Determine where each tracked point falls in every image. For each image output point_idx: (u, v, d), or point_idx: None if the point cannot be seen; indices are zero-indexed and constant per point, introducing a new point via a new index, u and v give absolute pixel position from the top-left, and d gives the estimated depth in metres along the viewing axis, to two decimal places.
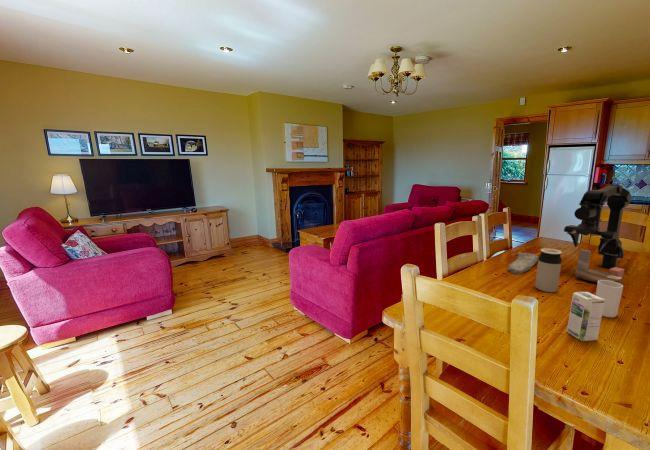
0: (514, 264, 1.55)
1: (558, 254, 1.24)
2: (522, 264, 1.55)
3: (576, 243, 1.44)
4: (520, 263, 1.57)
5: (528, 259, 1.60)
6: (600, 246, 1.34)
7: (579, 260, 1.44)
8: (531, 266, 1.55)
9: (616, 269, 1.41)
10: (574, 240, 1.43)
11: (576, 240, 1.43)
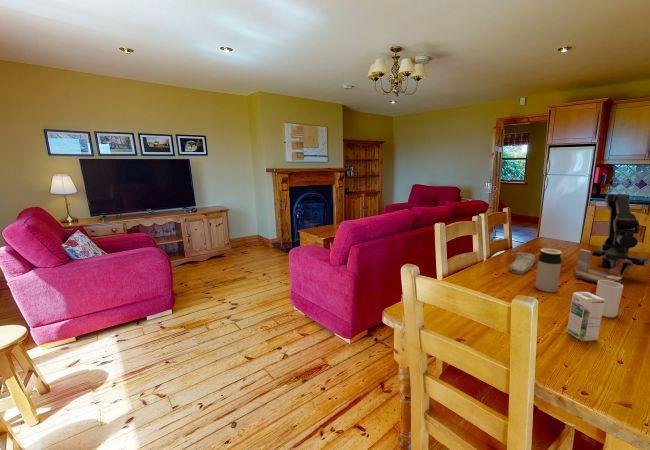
0: (515, 264, 1.55)
1: (558, 254, 1.24)
2: (522, 264, 1.55)
3: None
4: (520, 263, 1.57)
5: (527, 259, 1.61)
6: (622, 270, 1.38)
7: (579, 260, 1.44)
8: (531, 266, 1.55)
9: (616, 269, 1.41)
10: (609, 266, 1.42)
11: (611, 266, 1.42)
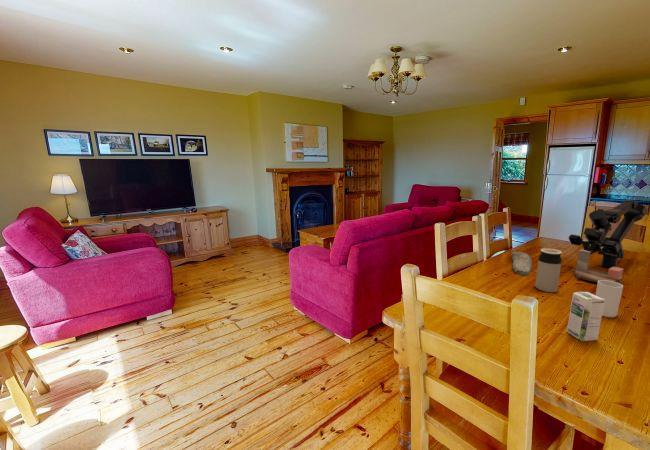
0: (517, 265, 1.54)
1: (558, 254, 1.24)
2: (524, 264, 1.55)
3: None
4: (521, 263, 1.57)
5: (525, 258, 1.61)
6: None
7: (579, 260, 1.43)
8: (531, 265, 1.56)
9: (615, 269, 1.34)
10: (585, 249, 1.43)
11: None
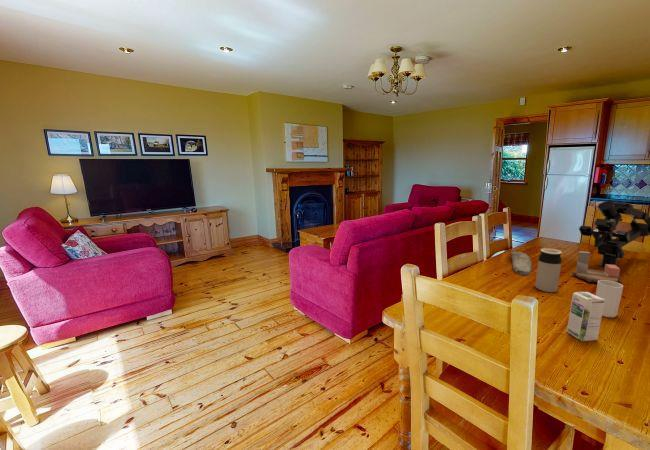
0: (517, 265, 1.54)
1: (558, 254, 1.24)
2: (524, 264, 1.55)
3: None
4: (521, 263, 1.57)
5: (524, 258, 1.62)
6: (599, 241, 1.45)
7: (579, 262, 1.40)
8: None
9: (613, 266, 1.36)
10: (596, 239, 1.46)
11: (597, 241, 1.46)
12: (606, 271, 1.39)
